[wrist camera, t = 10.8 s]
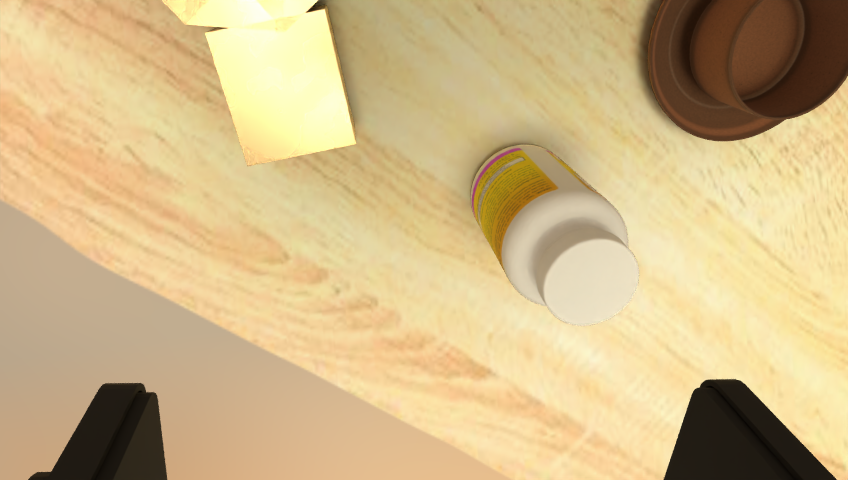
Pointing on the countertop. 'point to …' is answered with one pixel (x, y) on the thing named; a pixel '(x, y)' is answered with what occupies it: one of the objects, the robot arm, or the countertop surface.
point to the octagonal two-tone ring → (276, 74)
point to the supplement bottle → (554, 235)
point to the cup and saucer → (745, 62)
